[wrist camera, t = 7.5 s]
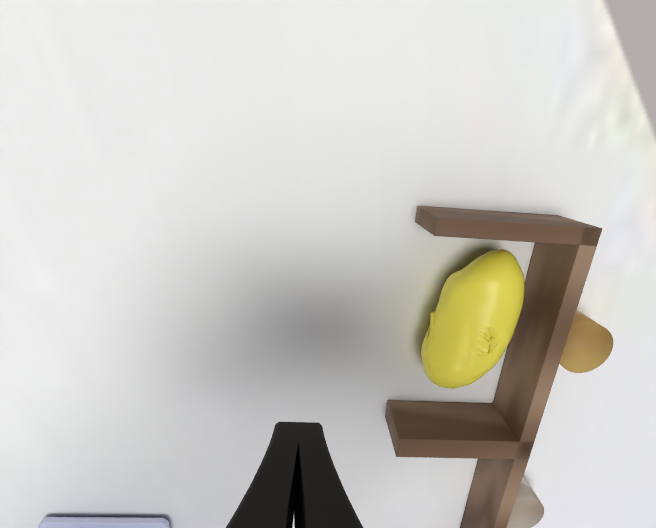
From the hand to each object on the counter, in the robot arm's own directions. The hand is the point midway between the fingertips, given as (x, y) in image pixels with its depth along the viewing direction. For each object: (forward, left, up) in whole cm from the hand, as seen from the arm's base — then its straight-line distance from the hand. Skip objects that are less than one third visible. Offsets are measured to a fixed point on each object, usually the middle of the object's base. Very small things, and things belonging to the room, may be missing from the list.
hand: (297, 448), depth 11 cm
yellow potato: (+1, -9, -10) cm, 13 cm away
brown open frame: (-6, -11, -9) cm, 15 cm away
